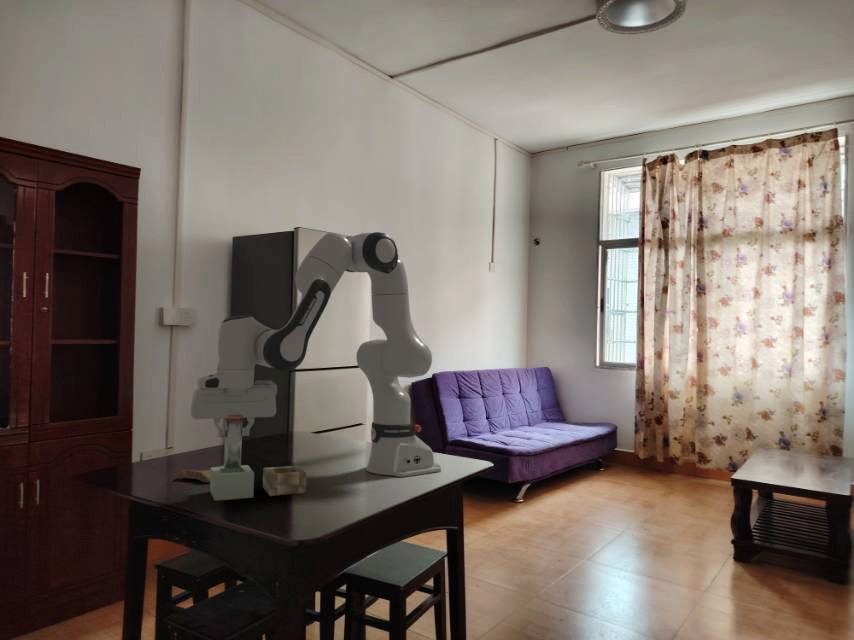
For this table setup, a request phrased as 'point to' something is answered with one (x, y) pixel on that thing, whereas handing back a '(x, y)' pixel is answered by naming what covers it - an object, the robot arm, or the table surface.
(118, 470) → the table surface
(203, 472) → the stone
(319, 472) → the table surface
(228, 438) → the pin
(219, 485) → the socket block
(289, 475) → the mount block
